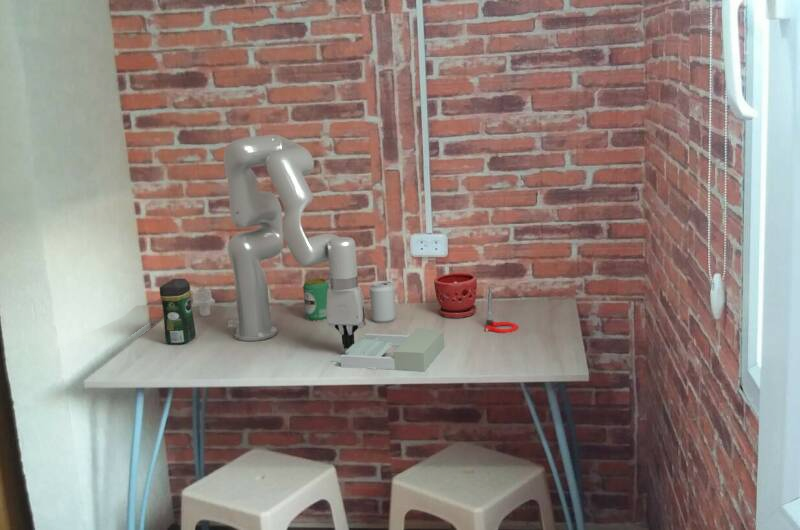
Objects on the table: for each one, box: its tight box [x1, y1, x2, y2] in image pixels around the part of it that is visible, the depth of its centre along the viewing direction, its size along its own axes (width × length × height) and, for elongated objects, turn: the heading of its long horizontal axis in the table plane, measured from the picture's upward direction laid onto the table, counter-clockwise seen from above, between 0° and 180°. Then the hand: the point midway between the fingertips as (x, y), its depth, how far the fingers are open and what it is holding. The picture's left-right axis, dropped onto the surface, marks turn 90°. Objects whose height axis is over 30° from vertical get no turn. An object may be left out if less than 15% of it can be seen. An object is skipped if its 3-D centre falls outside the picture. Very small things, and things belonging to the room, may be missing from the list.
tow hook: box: [484, 285, 519, 334], centre depth 264 cm, size 8×13×9 cm
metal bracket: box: [330, 335, 393, 371], centre depth 246 cm, size 14×6×15 cm
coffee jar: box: [159, 278, 197, 346], centre depth 270 cm, size 10×8×19 cm
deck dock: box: [339, 328, 445, 372], centre depth 246 cm, size 23×20×5 cm
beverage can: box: [302, 278, 330, 322], centre depth 287 cm, size 8×8×12 cm
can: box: [369, 280, 397, 324], centre depth 280 cm, size 8×8×12 cm
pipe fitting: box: [192, 288, 216, 317], centre depth 299 cm, size 6×7×8 cm
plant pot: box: [433, 272, 478, 319], centre depth 282 cm, size 13×13×12 cm
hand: (348, 347), depth 250 cm, fingers closed
